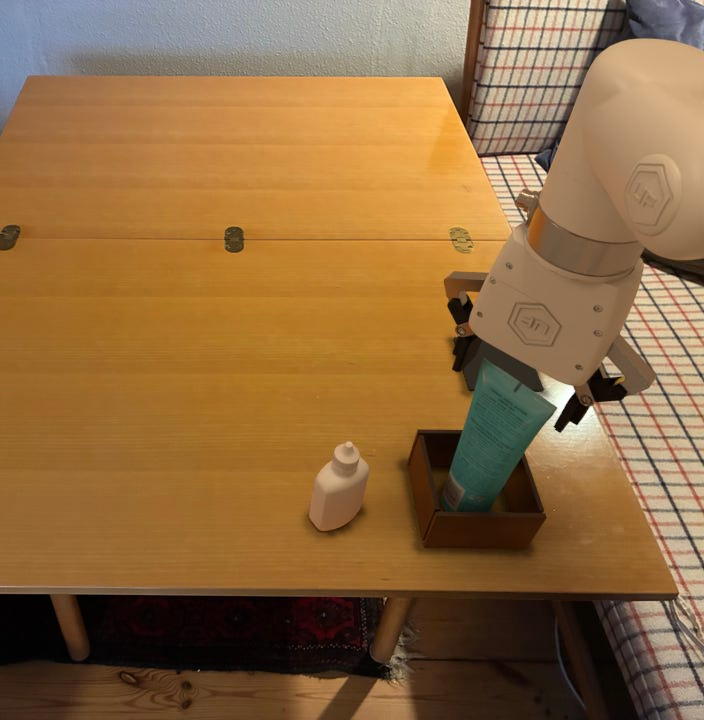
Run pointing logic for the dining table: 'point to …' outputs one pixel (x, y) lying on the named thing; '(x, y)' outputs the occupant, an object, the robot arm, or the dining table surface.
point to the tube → (493, 439)
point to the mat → (501, 367)
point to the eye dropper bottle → (339, 488)
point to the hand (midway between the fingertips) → (512, 391)
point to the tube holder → (471, 525)
